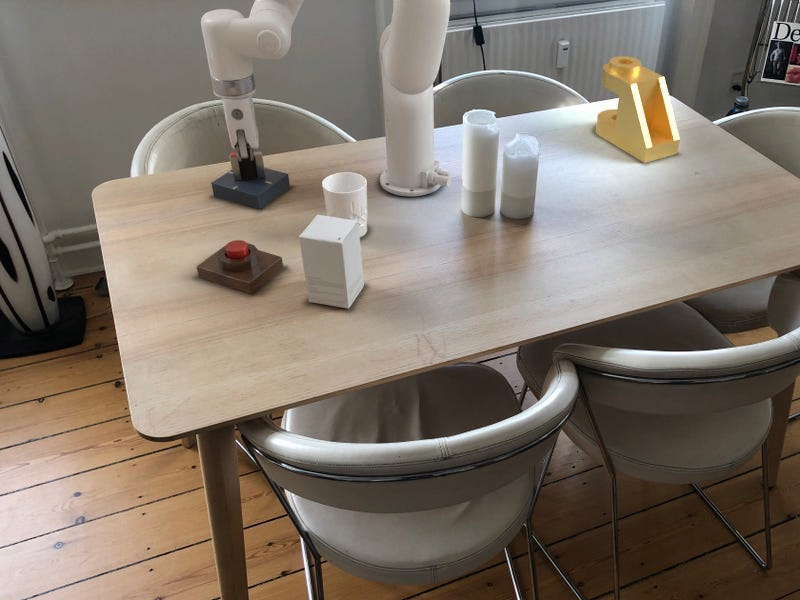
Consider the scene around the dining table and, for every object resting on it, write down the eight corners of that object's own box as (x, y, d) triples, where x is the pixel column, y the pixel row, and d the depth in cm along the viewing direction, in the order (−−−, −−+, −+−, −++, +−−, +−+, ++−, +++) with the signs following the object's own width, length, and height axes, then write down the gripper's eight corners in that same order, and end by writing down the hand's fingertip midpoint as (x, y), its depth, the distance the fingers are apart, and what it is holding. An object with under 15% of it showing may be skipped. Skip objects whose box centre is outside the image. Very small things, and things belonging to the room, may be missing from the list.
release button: (253, 251, 141) (251, 243, 140) (240, 262, 139) (238, 253, 138) (236, 246, 142) (234, 238, 141) (222, 256, 140) (220, 248, 139)
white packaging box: (365, 285, 140) (360, 219, 132) (348, 310, 135) (341, 243, 127) (325, 278, 142) (317, 212, 134) (306, 302, 136) (297, 235, 128)
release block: (283, 267, 144) (280, 247, 142) (251, 294, 138) (247, 274, 135) (232, 251, 148) (228, 232, 145) (198, 277, 141) (194, 257, 139)
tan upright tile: (265, 175, 164) (261, 150, 160) (265, 178, 163) (261, 153, 159) (234, 177, 163) (229, 152, 159) (234, 180, 162) (229, 156, 158)
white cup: (349, 216, 158) (345, 167, 152) (379, 230, 154) (375, 181, 148) (318, 232, 153) (312, 183, 147) (348, 247, 150) (343, 197, 143)
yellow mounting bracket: (587, 128, 191) (595, 58, 181) (619, 120, 195) (628, 51, 184) (644, 163, 178) (656, 90, 168) (676, 153, 182) (690, 81, 171)
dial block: (290, 187, 167) (288, 172, 165) (259, 209, 159) (256, 194, 157) (246, 175, 170) (243, 161, 168) (213, 196, 163) (210, 182, 161)
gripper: (255, 98, 146) (270, 193, 157) (254, 66, 157) (268, 156, 169) (211, 101, 144) (229, 196, 156) (213, 68, 156) (230, 159, 168)
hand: (249, 175), depth 162 cm, fingers closed
